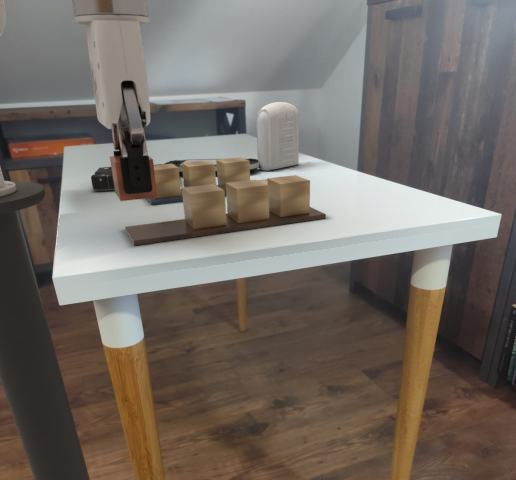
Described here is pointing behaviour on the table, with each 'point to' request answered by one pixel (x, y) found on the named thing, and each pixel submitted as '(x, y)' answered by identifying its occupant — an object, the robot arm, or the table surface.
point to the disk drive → (104, 179)
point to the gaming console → (253, 163)
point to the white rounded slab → (277, 136)
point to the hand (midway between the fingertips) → (134, 186)
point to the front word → (233, 209)
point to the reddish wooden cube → (120, 187)
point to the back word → (197, 177)
